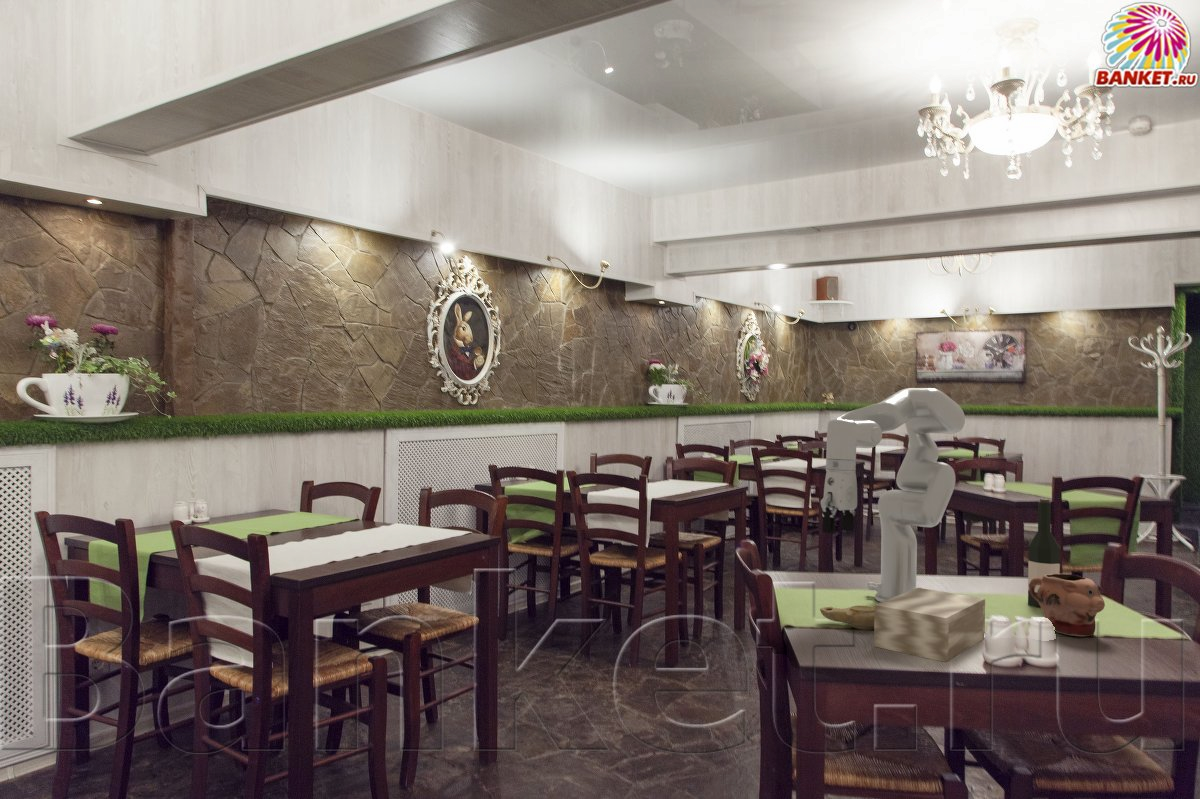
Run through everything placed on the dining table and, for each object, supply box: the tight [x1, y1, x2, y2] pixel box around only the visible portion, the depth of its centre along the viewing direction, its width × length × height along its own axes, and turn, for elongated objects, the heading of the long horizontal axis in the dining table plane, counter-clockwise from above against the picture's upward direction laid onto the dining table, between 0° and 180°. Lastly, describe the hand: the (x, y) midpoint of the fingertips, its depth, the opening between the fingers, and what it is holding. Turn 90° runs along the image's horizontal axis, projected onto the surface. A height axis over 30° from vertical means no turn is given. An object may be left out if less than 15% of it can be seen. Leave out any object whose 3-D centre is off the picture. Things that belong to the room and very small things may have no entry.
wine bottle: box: [1027, 498, 1061, 609], centre depth 228 cm, size 8×8×30 cm
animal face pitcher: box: [1029, 573, 1106, 637], centre depth 201 cm, size 20×12×14 cm, turn 28°
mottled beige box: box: [873, 587, 986, 663], centre depth 189 cm, size 16×26×10 cm, turn 137°
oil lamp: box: [819, 605, 875, 631], centre depth 201 cm, size 11×14×5 cm
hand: (838, 531), depth 211 cm, fingers open, 9 cm apart
